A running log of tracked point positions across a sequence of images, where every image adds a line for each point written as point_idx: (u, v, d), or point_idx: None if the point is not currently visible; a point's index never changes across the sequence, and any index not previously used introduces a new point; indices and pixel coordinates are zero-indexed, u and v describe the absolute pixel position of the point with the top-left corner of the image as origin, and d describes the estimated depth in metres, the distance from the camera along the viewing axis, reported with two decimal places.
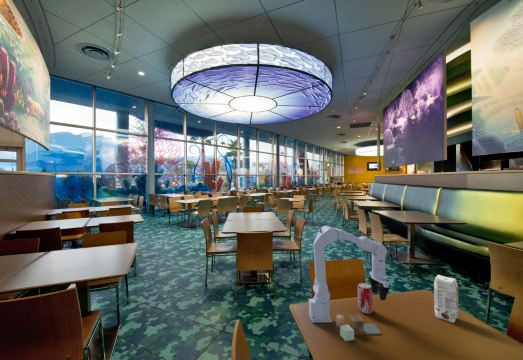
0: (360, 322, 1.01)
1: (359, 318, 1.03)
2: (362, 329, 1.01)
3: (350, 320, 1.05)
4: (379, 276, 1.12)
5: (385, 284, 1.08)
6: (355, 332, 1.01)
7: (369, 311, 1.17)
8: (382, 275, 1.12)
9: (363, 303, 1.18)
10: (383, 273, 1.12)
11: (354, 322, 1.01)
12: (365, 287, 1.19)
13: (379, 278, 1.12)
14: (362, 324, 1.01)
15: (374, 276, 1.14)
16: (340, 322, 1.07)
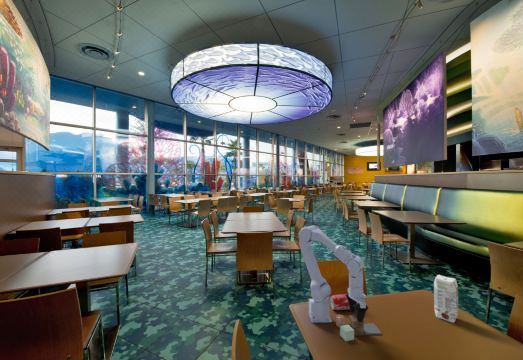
0: (360, 322, 1.01)
1: None
2: (362, 329, 1.01)
3: (350, 320, 1.05)
4: (356, 294, 1.01)
5: (362, 304, 0.97)
6: (355, 332, 1.01)
7: None
8: (360, 294, 1.01)
9: (348, 303, 1.20)
10: (361, 291, 1.01)
11: (354, 322, 1.01)
12: (333, 302, 1.22)
13: (356, 297, 1.01)
14: (362, 324, 1.01)
15: (351, 294, 1.03)
16: (340, 322, 1.07)
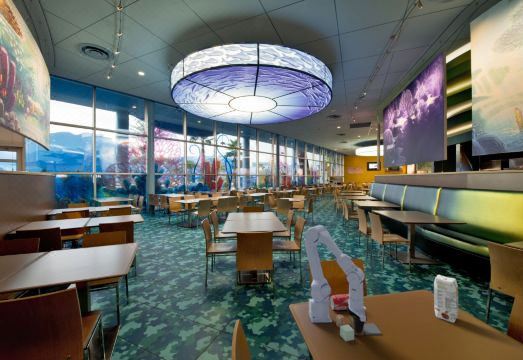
0: None
1: None
2: None
3: (350, 320, 1.05)
4: (356, 307, 1.01)
5: (362, 318, 0.96)
6: (355, 332, 1.01)
7: None
8: (360, 306, 1.01)
9: None
10: (361, 304, 1.01)
11: (354, 322, 1.01)
12: (333, 302, 1.22)
13: (356, 309, 1.01)
14: None
15: (351, 307, 1.02)
16: (340, 322, 1.07)
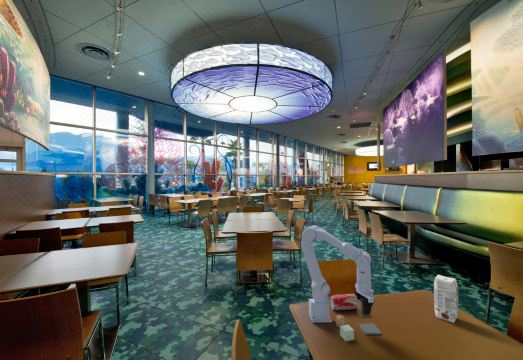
0: None
1: None
2: (370, 312, 1.02)
3: (358, 303, 1.05)
4: (364, 289, 1.02)
5: (370, 299, 0.97)
6: (363, 315, 1.02)
7: (354, 297, 1.22)
8: (367, 289, 1.02)
9: (348, 303, 1.20)
10: (368, 286, 1.02)
11: (362, 305, 1.02)
12: (333, 302, 1.22)
13: (364, 292, 1.02)
14: None
15: (359, 289, 1.03)
16: (340, 322, 1.07)
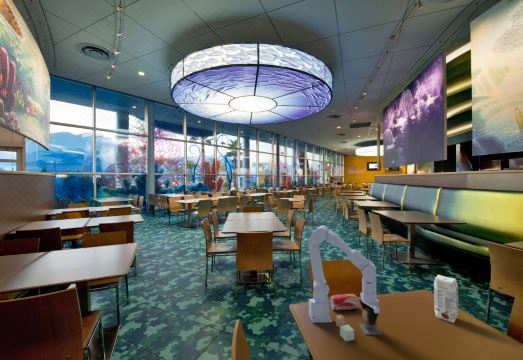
0: None
1: None
2: None
3: (363, 313, 1.06)
4: (370, 300, 1.03)
5: (376, 309, 0.98)
6: (368, 325, 1.03)
7: (354, 297, 1.22)
8: (373, 299, 1.03)
9: (348, 303, 1.20)
10: (374, 296, 1.03)
11: (367, 315, 1.03)
12: (333, 302, 1.22)
13: (370, 302, 1.03)
14: None
15: (364, 299, 1.04)
16: (340, 322, 1.07)
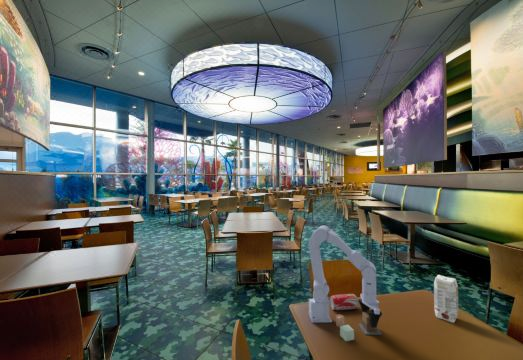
0: None
1: None
2: None
3: (363, 316, 1.06)
4: (370, 301, 1.03)
5: (376, 310, 0.98)
6: (368, 328, 1.03)
7: (354, 297, 1.22)
8: (373, 300, 1.03)
9: (348, 303, 1.20)
10: (374, 297, 1.03)
11: (367, 318, 1.03)
12: (333, 302, 1.22)
13: (370, 303, 1.03)
14: None
15: (364, 300, 1.04)
16: (340, 322, 1.07)
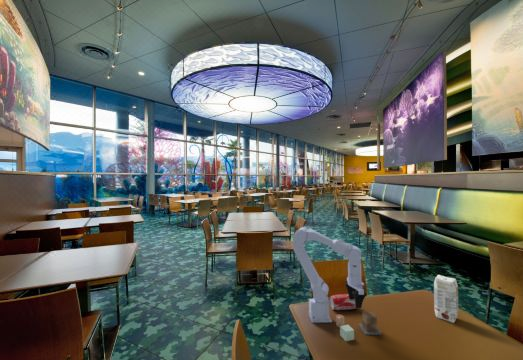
0: (374, 318, 1.03)
1: (372, 314, 1.05)
2: (375, 325, 1.03)
3: (363, 316, 1.06)
4: (355, 282, 1.06)
5: (360, 291, 1.02)
6: (368, 328, 1.03)
7: None
8: (358, 281, 1.06)
9: (348, 303, 1.20)
10: (359, 279, 1.06)
11: (367, 318, 1.03)
12: (333, 302, 1.22)
13: (355, 284, 1.06)
14: (375, 320, 1.03)
15: (350, 282, 1.08)
16: (340, 322, 1.07)
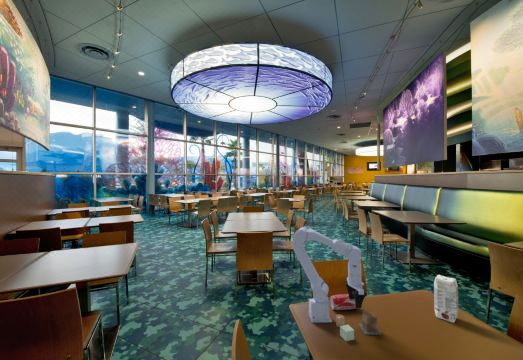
0: (374, 318, 1.03)
1: (372, 314, 1.05)
2: (375, 325, 1.03)
3: (363, 316, 1.06)
4: (355, 282, 1.06)
5: (360, 291, 1.02)
6: (368, 328, 1.03)
7: None
8: (358, 281, 1.06)
9: (348, 303, 1.20)
10: (359, 279, 1.06)
11: (367, 318, 1.03)
12: (333, 302, 1.22)
13: (355, 284, 1.06)
14: (375, 320, 1.03)
15: (350, 282, 1.08)
16: (340, 322, 1.07)
